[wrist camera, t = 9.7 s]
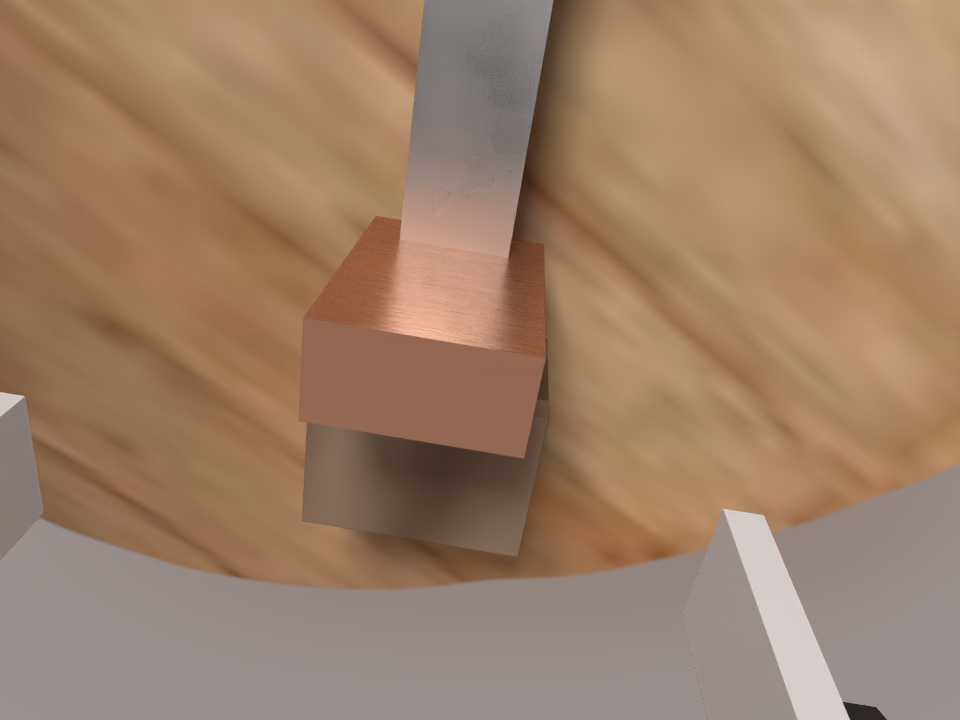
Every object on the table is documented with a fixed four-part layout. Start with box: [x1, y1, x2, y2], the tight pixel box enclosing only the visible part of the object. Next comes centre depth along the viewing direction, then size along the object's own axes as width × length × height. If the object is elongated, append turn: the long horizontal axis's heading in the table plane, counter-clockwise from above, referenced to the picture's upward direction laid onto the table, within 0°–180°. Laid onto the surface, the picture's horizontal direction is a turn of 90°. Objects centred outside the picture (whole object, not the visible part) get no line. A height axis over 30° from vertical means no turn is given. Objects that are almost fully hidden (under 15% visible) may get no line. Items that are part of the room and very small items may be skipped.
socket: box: [302, 339, 549, 557], centre depth 29 cm, size 8×6×6 cm
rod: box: [299, 0, 553, 458], centre depth 20 cm, size 6×28×11 cm, turn 171°
